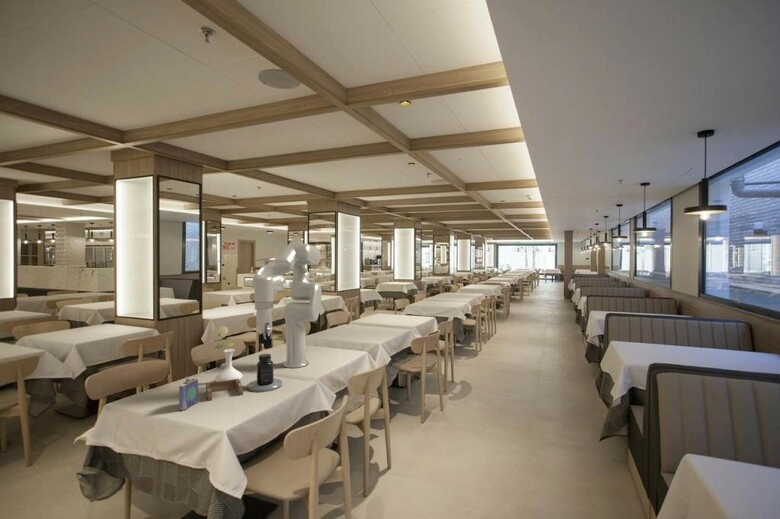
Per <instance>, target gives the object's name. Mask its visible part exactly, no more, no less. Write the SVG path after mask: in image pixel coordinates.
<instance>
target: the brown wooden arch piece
mask: <svg viewBox="0 0 780 519" xmlns="http://www.w3.org/2000/svg"><path fill="white" fill-rule="evenodd" d="M233 388H234V389H237V390H236V391H237V394H238V395H239V396H243V395H244V390H243V389H244V386H243V384H242V382H241V380H239V379H233V380H226V381H220V382H216V381H214V382H208V383H205V394H206V398H207V400H208V402H210V401H213V394H212V393H216V392H221V391H228V390H233ZM227 389H228V390H227Z"/></svg>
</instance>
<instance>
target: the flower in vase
mask: <svg viewBox="0 0 780 519" xmlns="http://www.w3.org/2000/svg"><path fill="white" fill-rule="evenodd" d="M227 334H229V329H228V327H227V326H225V325H220V326H217V327H215V328H214V329H213V330H212V331H211V333H210V337H209V338H210V340H212V341H215V342H216V341H217V342H218V341H220V340H221V341H222V343H218V344H217V345H215V346H214V347H213V350H220V349H221V348H222V347H224V348H225V349H223V350H222V352H223V354H224V356H225V367H224V369H223V370H221V371H220V372H219V373H218V374H217V375H216V376H215V377H214V382H220V381H226V380H233V379H239V381H241V380H242V379H243V377H244V374H242V373H241V371H239V370H237V369H236V368H235V367H233V364H232V362H233V360H232V359H233V354H234V352H235V351H236V349H234V348H230V347H232V346H234V343H235V341H234V340H233V341H231V342H229V343H227V344H226V345H225V343H224V340H223V339H224V338H225V337H226V336H227Z"/></svg>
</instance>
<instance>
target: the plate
mask: <svg viewBox="0 0 780 519" xmlns="http://www.w3.org/2000/svg"><path fill="white" fill-rule="evenodd" d="M282 386H283V381H282V380H281V379H279V378H274V381H273V383H272V384H270V385H265V386H261V385H258V384H257V379H256V380H253V381H250V382H248V384H246V387H247V388H246V389H247V390H248V391H249V390H250V391H249V392H252V391H253V392H255V393H265V392H272V391H274V390H278V389H279V388H281V387H282Z"/></svg>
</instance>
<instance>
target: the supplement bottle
mask: <svg viewBox="0 0 780 519" xmlns="http://www.w3.org/2000/svg"><path fill="white" fill-rule="evenodd" d="M271 359H272V355H271V354H270V353H263V354H259V355H258V361H257V363H256V380H257V384H258V385H261V386H265V385H270V384H272V383H273V381H274V379H275V377H274V373H275V372H274V362H273V360H271Z"/></svg>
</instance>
